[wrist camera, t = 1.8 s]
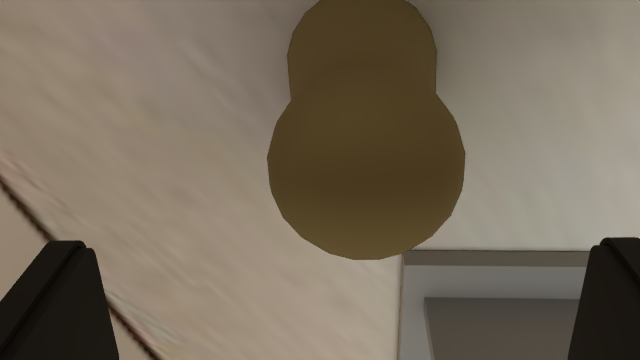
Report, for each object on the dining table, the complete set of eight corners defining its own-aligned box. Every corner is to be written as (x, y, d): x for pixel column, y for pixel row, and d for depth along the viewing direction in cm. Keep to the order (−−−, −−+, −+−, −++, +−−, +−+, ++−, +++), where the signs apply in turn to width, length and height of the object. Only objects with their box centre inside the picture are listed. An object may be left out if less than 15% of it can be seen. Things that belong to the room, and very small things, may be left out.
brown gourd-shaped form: (421, 141, 26) (462, 309, 16) (281, 124, 25) (236, 282, 16) (451, -3, 23) (524, 93, 13) (293, -23, 23) (248, 59, 13)
